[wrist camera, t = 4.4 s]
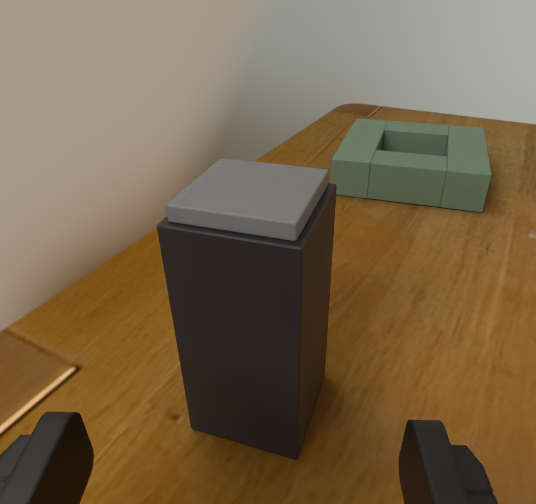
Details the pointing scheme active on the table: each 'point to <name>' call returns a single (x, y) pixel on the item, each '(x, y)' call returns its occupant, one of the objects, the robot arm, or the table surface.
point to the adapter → (414, 164)
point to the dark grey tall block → (251, 298)
